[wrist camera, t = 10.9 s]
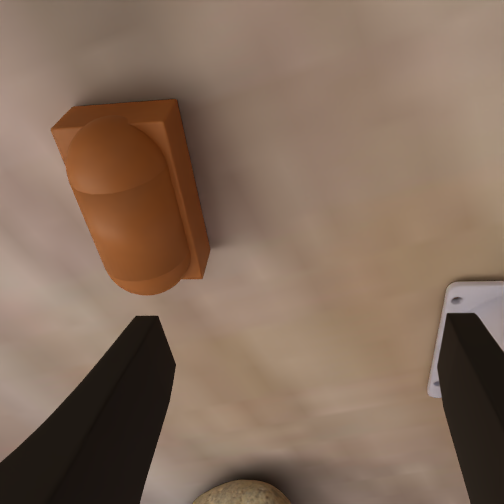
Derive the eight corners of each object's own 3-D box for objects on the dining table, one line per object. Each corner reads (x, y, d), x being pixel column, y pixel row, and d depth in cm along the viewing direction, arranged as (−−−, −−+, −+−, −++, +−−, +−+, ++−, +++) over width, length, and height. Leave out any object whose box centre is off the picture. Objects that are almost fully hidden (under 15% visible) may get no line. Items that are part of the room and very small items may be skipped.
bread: (211, 253, 24) (195, 313, 21) (127, 255, 25) (99, 314, 22) (176, 93, 19) (147, 140, 16) (70, 101, 20) (22, 148, 16)
